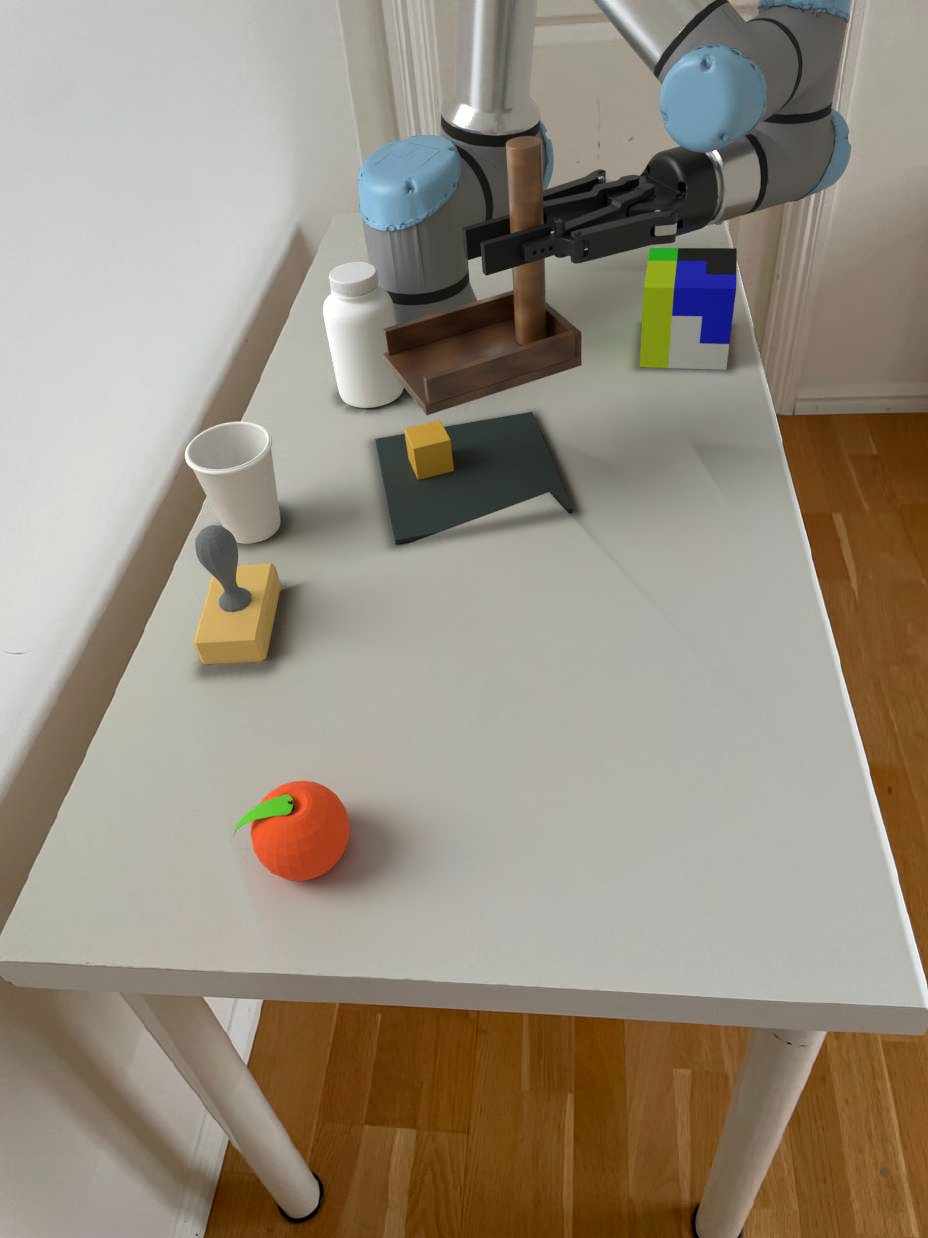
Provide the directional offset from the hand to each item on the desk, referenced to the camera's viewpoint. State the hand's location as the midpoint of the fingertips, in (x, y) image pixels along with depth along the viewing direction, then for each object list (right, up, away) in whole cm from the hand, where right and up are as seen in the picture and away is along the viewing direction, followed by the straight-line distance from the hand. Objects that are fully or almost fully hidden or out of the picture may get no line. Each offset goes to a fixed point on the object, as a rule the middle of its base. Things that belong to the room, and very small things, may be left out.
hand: (474, 251), depth 83 cm
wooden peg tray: (+1, -8, +8) cm, 11 cm away
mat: (0, -17, +17) cm, 24 cm away
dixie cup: (-23, -23, +14) cm, 35 cm away
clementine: (-13, -50, -14) cm, 53 cm away
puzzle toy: (+26, +1, +32) cm, 41 cm away
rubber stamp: (-21, -33, +4) cm, 40 cm away
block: (-3, -14, +17) cm, 22 cm away
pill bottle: (-12, -5, +30) cm, 33 cm away
